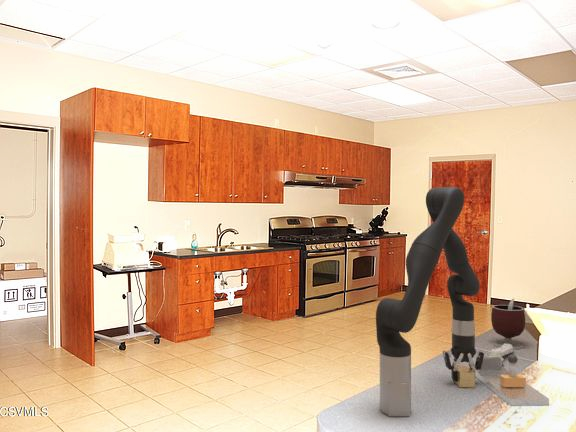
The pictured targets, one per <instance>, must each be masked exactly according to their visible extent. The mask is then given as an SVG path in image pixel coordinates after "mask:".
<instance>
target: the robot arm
mask: <svg viewBox="0 0 576 432" xmlns="http://www.w3.org/2000/svg"><path fill="white" fill-rule="evenodd" d="M425 204H426V208H427V211H428V214H429V217H430V219H431V221H432V224H430V225H429V226H428V227H426V229H424V230H423V231H422V232H421V233H420V234H418V235H417V236H416V237H415V239H414V240H413V242H412V244H411V245H410V248H409V250H408V253H407V255H406V258H405V269H406V275H407V287H406V291H405V293H404V295H403V297H402V299H396V298H391V297H385V298H383V299H381V300H380V301H379V302H378V304H377V307H376V310H375V311H376V312H375V326H376V328H375V329H376V342H377V345H378V348H379V410H380V411H381V412H382V413H383V414H385V415H387V417H410V416H411V413H412V345H411V344H410V342H408V340H406V339H405V338H404V337H403V336H402V335H401V333H404V334H406V333H409V332H410V331H411V330H413V328H414V327H415V326H416V324H417V321H418V318H419V315H420V312H421V308H422V304H423V301H424V298H425V294H426V293H427V292H426V291H427V288H428V286H429V284H430V281H431V278H432V275H433V273H434V271H435V270H436V268H437V267H436V266H437V264H438V262H439V260H440V257H441V255H442V252H443V251H444V257H445V261H446V265H447V268H448V270H449V271H451V272H452V274H451V275H450V276H449V277H448V279H447V282H446V288H447V292H448V295H449V298H450V303H451V306H452V320H451V321H452V322H451V348H450V350H447V351H446V350H443V351H442V355H443V359H444V364H445V367H446V368H447V369H448V370H449V371H450V370H451V380H453V382H454V383H455V382H457V368H458V366H459V365H461V363H464V362H465V363H467V364H468V367H469V368H470V369H471V370H472V371H474V372H475V371H476V370H478V369H479V370H480V369H481V366H482V362H483V357H484V356H485V352H483V351H481V350H476V328H475V327H476V325H475V307H474V304H473V303H472V302H469V301H467V300H465V299H464V296H466V297H473V296H476V295H477V294H478V293H479V291H480V288H481V287H480V281H479V277H478V276H477V274H476V272H475V271H474V269H473V267H472V265H471V263H470V261H469V257H468V252H467V249H466V245H465V244H464V242H463V240H462V239H461V237H460V236H459V235H458V234H457V232H456V231H455V230H454V228H453V227H455V226H454V225H455V224H456V222H457V220H458V218H459V217H460V215H461V213H462V211H463V208H464V204H465V193H464V190H463V189H461V188H459V187H456V186H441V187H432V188H430V189H429V190H428V191H427V193H426V196H425ZM451 355H452V356H453V359H452V363H451ZM474 357H476V359H475V361H474Z"/></svg>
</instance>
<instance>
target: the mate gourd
mask: <svg viewBox="0 0 576 432" xmlns="http://www.w3.org/2000/svg"><path fill="white" fill-rule="evenodd" d="M514 301H515V298H511V300H510V301H509V303H508V304H496V305H492V308H491V313H490V315H491V316H490V321H491V326H492V329H493V330H494V331H495V333H496V334H497V335H499V336H501V337H504V338H503V340H494V341H493V343H492V344H493V346H494V347H497V348H500V347H501V346H502V345H503V344H504V343H506V344H511V345H512V346H513V347H514V348H513V350H521V349H523V348H524V344H522V343H521V342H516V341H513V339H512V338H516V337H519V336H520V335H521V334H522V333H523V332H524V330H525V327H526V315H525V309H524V307H522V306H518V305H514V303H515V302H514Z"/></svg>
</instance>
